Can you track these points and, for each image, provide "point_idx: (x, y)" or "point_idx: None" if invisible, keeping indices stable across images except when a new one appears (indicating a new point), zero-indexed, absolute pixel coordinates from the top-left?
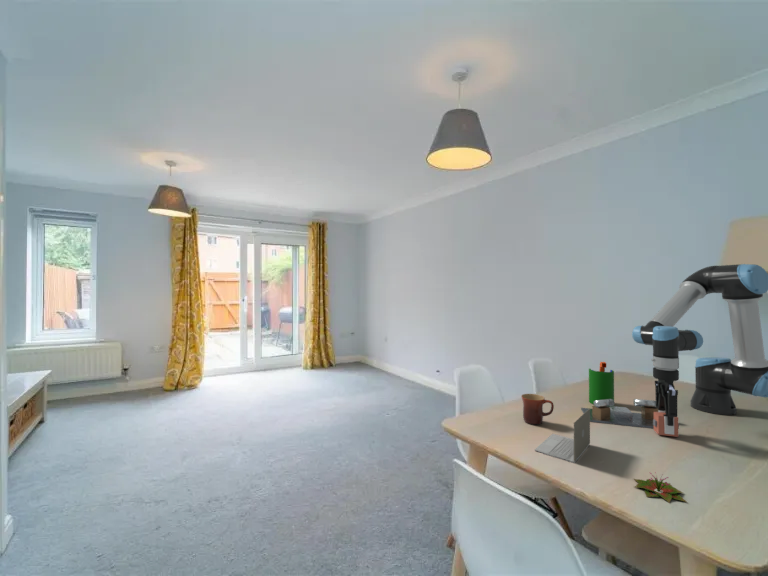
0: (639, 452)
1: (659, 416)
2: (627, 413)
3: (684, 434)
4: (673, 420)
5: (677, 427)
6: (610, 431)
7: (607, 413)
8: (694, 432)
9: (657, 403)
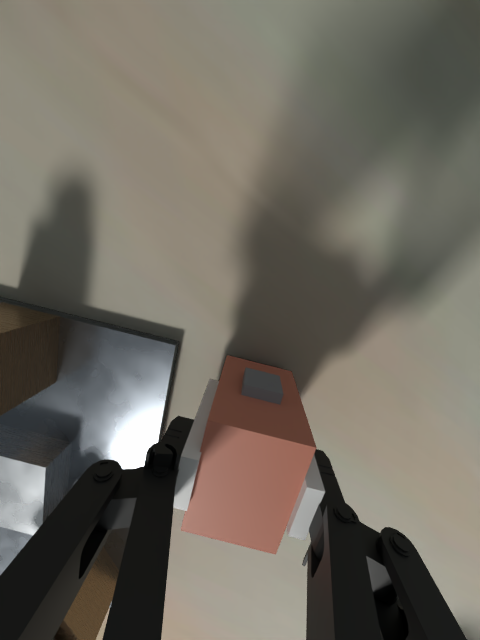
0: None
1: (278, 545)
2: (49, 483)
3: (232, 296)
4: (314, 466)
5: (299, 402)
6: (229, 581)
7: (85, 580)
8: (195, 214)
9: (100, 547)
